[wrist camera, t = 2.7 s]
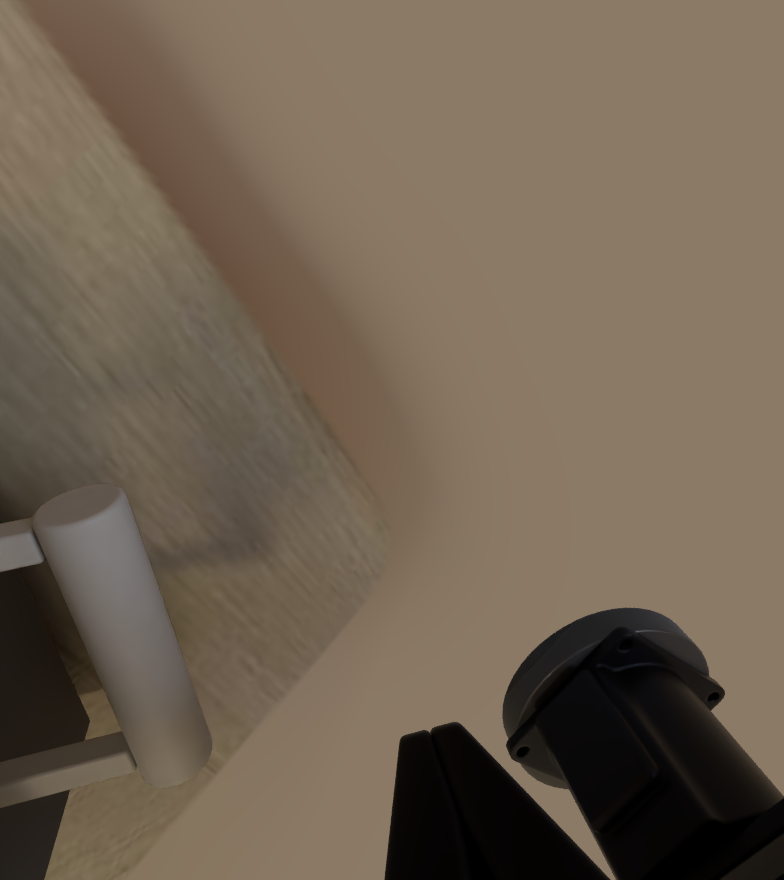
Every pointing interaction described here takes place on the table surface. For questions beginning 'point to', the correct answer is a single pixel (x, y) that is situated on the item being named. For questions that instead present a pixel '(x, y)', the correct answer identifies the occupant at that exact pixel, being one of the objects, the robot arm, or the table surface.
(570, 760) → the robot arm
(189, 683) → the drawer
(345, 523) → the table surface
